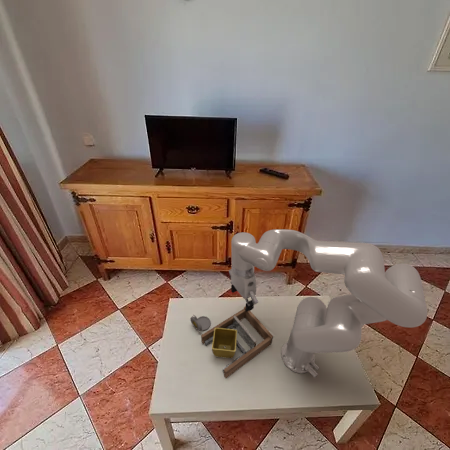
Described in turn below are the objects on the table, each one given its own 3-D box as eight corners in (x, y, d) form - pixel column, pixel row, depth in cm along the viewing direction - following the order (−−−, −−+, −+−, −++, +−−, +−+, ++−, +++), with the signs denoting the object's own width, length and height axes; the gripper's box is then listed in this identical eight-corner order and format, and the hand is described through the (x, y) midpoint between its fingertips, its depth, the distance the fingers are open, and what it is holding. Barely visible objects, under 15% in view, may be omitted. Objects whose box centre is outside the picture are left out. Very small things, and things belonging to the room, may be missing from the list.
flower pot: (236, 341, 106) (237, 329, 100) (234, 363, 99) (235, 351, 93) (215, 339, 106) (214, 327, 101) (212, 361, 99) (211, 349, 94)
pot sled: (255, 350, 102) (256, 340, 98) (224, 373, 95) (224, 364, 91) (234, 325, 111) (235, 315, 107) (204, 344, 104) (204, 334, 100)
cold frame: (271, 344, 105) (273, 336, 101) (225, 378, 94) (225, 370, 91) (245, 314, 116) (245, 305, 112) (201, 342, 105) (200, 333, 102)
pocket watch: (212, 319, 114) (211, 304, 108) (207, 336, 107) (206, 322, 101) (194, 315, 115) (193, 301, 109) (188, 332, 109) (186, 318, 103)
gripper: (267, 279, 81) (264, 312, 91) (238, 248, 94) (238, 280, 104) (247, 288, 78) (246, 322, 88) (220, 255, 91) (222, 288, 101)
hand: (242, 299), depth 96 cm, fingers open, 9 cm apart
